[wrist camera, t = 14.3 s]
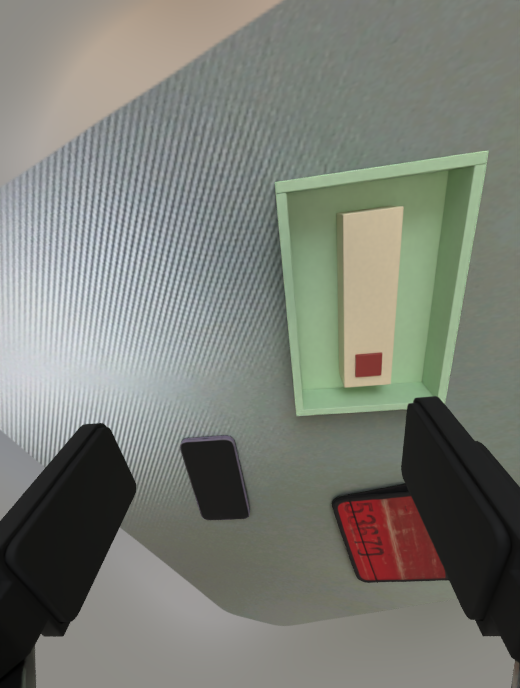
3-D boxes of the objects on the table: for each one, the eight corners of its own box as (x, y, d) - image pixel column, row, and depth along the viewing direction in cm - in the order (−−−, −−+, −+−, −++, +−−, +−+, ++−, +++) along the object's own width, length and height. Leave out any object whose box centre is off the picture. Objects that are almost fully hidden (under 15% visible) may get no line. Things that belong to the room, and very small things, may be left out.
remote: (336, 212, 25) (343, 214, 22) (390, 205, 25) (405, 206, 22) (338, 372, 32) (344, 389, 29) (381, 368, 32) (392, 386, 29)
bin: (275, 184, 25) (274, 181, 21) (456, 157, 24) (489, 150, 20) (294, 393, 34) (296, 416, 31) (426, 384, 33) (444, 407, 29)
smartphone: (233, 438, 37) (251, 518, 43) (234, 432, 38) (251, 511, 44) (177, 442, 38) (202, 520, 44) (180, 436, 39) (204, 513, 45)
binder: (458, 489, 36) (466, 581, 45) (449, 473, 38) (458, 563, 47) (329, 505, 40) (359, 587, 48) (327, 490, 42) (356, 571, 50)
